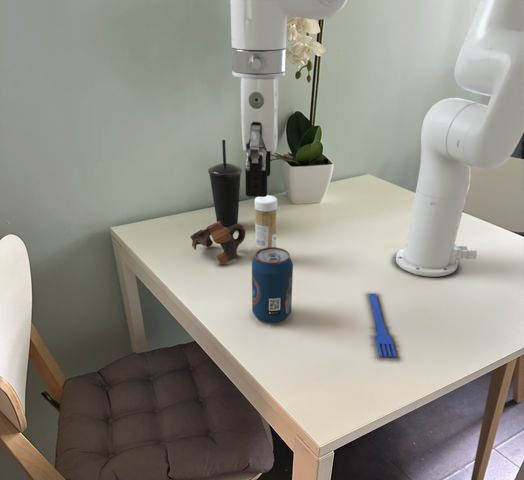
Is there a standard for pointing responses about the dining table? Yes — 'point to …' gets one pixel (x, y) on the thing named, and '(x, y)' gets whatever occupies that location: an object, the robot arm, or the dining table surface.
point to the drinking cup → (225, 190)
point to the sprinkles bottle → (265, 222)
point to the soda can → (272, 285)
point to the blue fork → (381, 330)
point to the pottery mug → (220, 239)
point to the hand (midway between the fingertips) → (258, 185)
